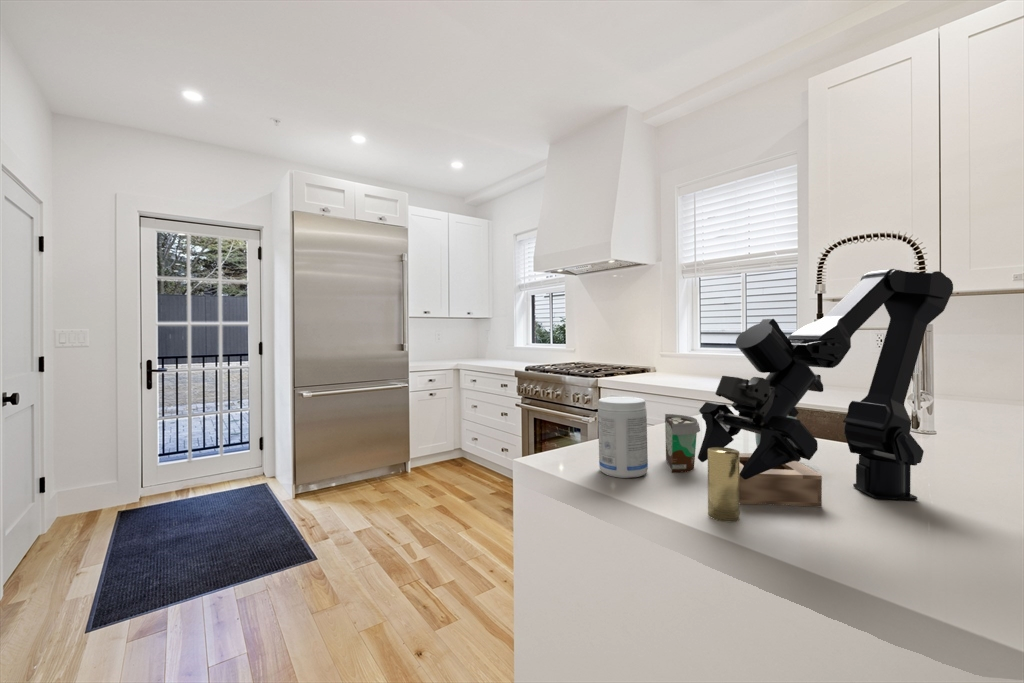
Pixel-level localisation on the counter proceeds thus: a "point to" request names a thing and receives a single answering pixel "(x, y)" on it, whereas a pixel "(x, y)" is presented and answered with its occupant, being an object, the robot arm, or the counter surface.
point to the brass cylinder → (723, 484)
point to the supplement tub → (622, 436)
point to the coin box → (781, 485)
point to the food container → (680, 442)
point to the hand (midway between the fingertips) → (719, 468)
